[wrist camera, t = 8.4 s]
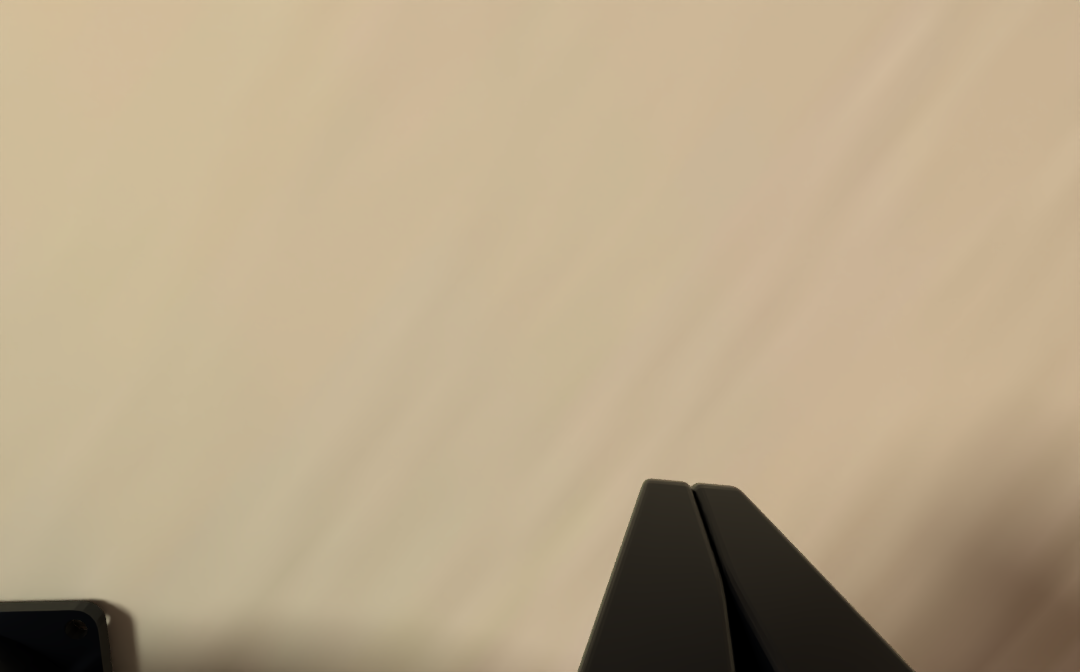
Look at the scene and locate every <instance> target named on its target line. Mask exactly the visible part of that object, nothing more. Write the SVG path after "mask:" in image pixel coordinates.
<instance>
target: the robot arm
mask: <svg viewBox="0 0 1080 672" xmlns="http://www.w3.org/2000/svg"><path fill="white" fill-rule="evenodd" d="M74 619H75V620H80V621H82V622H83V623H84V624H85V625H86V627H87V630H84V629H80V628H78V627H77V626H76V625H75V623H74V621H73V620H74ZM0 672H112V664H111V656H110V647H109V639H108V631H107V623H106V618H105V615H104V612H103V611H102V610H101V609H100V608H99V607H98V606H97V605H95V604H93V603H91V602H87V601H50V602H4V603H0ZM578 672H915V671H914V670H913V669H912V668H911V667H910V666H909V665H908V664H907V663H906V662H905V661H904V660H903V659H902V657H901V656H900V655H899V654H898V653H897V652H896V651H895V650H894V649H893V648H892V647H891V646H890V645H889V644H888V643H887V642H886V641H885V640H884V639H883V638H882V637H881V636H880V635H879V634H878V632H877V631H876V630H875V629H874V628H873V627H872V626H871V625H870V624H869V623H868V622H867V621H866V620H865V619H864V618H863V617H862V616H861V615H860V614H859V613H858V612H857V611H856V610H855V608H854V607H853V606H852V605H851V604H850V603H849V602H848V601H847V600H846V599H845V598H844V597H843V596H842V595H841V594H840V593H839V592H838V591H837V590H836V589H835V588H834V587H833V586H832V585H831V583H830V582H829V581H828V580H827V579H826V578H825V577H824V576H823V575H822V574H821V573H820V572H819V571H818V570H817V569H816V568H815V567H814V566H813V565H812V564H811V563H810V562H809V561H808V560H807V558H806V557H805V556H804V555H803V554H802V553H801V552H800V551H799V550H798V549H797V548H796V547H795V546H794V545H793V544H792V543H791V542H790V541H789V540H788V539H787V538H786V537H785V536H784V535H783V533H782V532H781V531H780V530H779V529H778V528H777V527H776V526H775V525H774V524H773V523H772V522H771V521H770V520H769V519H768V518H767V517H766V516H765V515H764V514H763V513H762V512H761V511H760V509H759V508H758V507H757V506H756V505H755V504H754V503H753V502H752V501H751V500H750V499H749V498H748V497H747V496H746V495H745V494H744V493H743V492H742V491H741V490H739V489H738V488H736V487H733V486H727V485H716V484H705V483H696V484H694V485H693V486H691V487H690V485H688V484H687V483H685V482H682V481H672V480H661V479H647V480H645V481H644V482H643V485H642V487H641V490H640V493H639V495H638V498H637V501H636V504H635V507H634V510H633V513H632V516H631V519H630V521H629V524H628V527H627V530H626V533H625V536H624V539H623V542H622V545H621V547H620V550H619V553H618V556H617V559H616V562H615V565H614V568H613V571H612V573H611V576H610V579H609V582H608V585H607V588H606V591H605V594H604V597H603V600H602V602H601V605H600V608H599V611H598V614H597V617H596V620H595V623H594V626H593V628H592V631H591V634H590V637H589V640H588V643H587V646H586V649H585V652H584V654H583V657H582V660H581V663H580V666H579V669H578Z"/></svg>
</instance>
